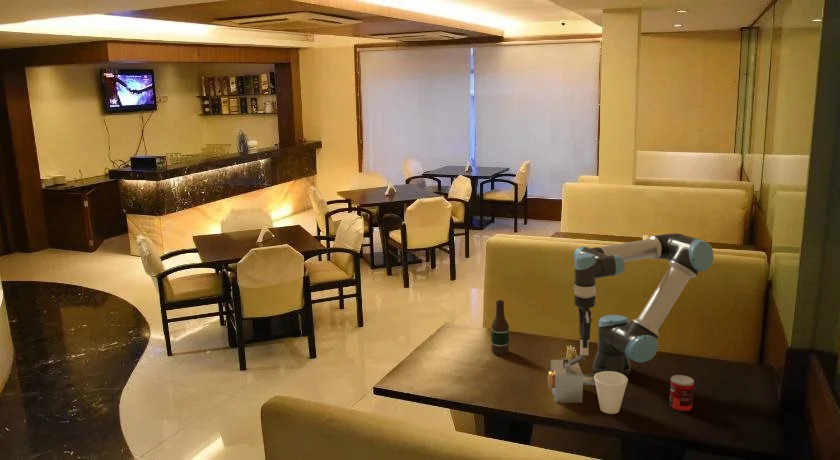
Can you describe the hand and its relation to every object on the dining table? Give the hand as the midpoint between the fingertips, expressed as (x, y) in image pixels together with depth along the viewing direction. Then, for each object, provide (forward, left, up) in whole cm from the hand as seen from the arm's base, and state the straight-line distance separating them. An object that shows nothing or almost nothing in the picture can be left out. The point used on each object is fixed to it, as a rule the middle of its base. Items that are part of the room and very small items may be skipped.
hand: (584, 354), depth 251 cm
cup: (-7, +12, -17) cm, 22 cm away
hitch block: (+7, 0, -16) cm, 17 cm away
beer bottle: (+30, -40, -17) cm, 52 cm away
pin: (+4, 0, -14) cm, 14 cm away
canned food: (-33, +10, -17) cm, 39 cm away
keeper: (+3, 0, -3) cm, 5 cm away
